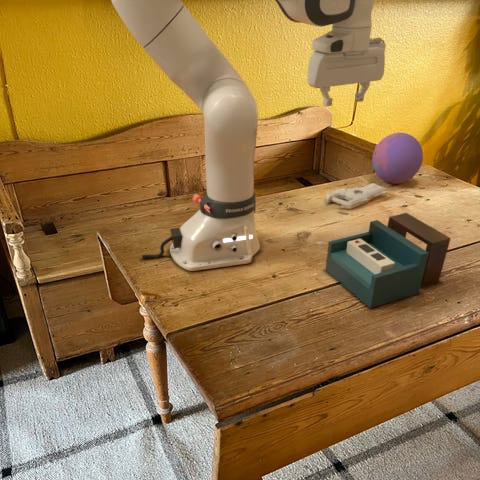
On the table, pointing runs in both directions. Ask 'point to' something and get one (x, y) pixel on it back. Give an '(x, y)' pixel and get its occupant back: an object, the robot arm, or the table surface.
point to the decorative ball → (397, 158)
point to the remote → (369, 256)
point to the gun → (355, 195)
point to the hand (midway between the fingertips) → (343, 103)
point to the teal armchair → (386, 283)
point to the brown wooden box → (429, 236)
